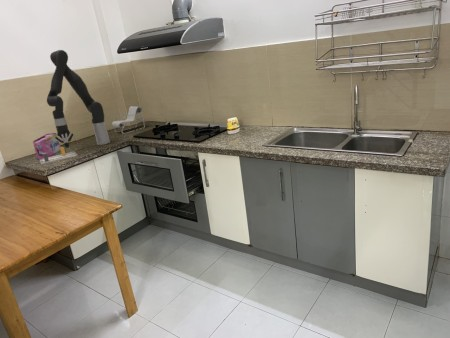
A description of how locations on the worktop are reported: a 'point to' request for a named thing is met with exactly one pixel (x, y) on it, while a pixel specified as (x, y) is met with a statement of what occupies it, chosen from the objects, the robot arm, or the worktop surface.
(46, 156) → the fader charcoal
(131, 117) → the chair
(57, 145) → the gum box
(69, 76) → the robot arm
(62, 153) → the fader amber
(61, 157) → the console
